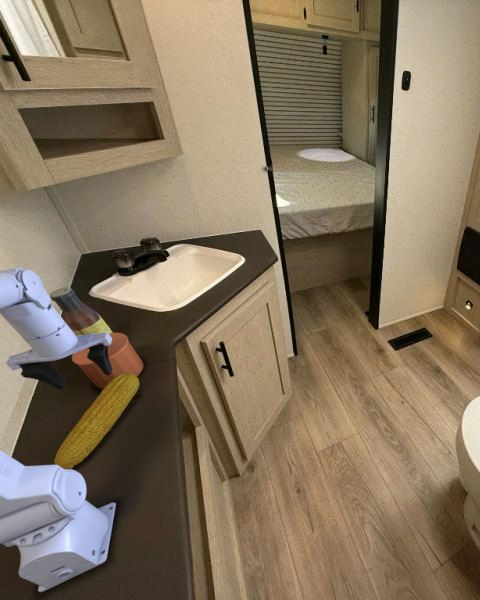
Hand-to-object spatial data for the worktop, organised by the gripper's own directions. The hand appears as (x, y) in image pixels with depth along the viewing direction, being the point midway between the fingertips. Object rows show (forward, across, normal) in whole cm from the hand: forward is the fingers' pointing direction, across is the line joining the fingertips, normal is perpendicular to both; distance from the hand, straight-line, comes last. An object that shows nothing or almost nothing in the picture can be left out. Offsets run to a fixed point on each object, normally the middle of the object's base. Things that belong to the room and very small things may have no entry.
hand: (86, 378), depth 66 cm
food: (+10, 0, +4) cm, 11 cm away
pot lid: (+2, 0, -11) cm, 12 cm away
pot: (+10, 0, -11) cm, 15 cm away
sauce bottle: (+10, +4, -22) cm, 25 cm away
